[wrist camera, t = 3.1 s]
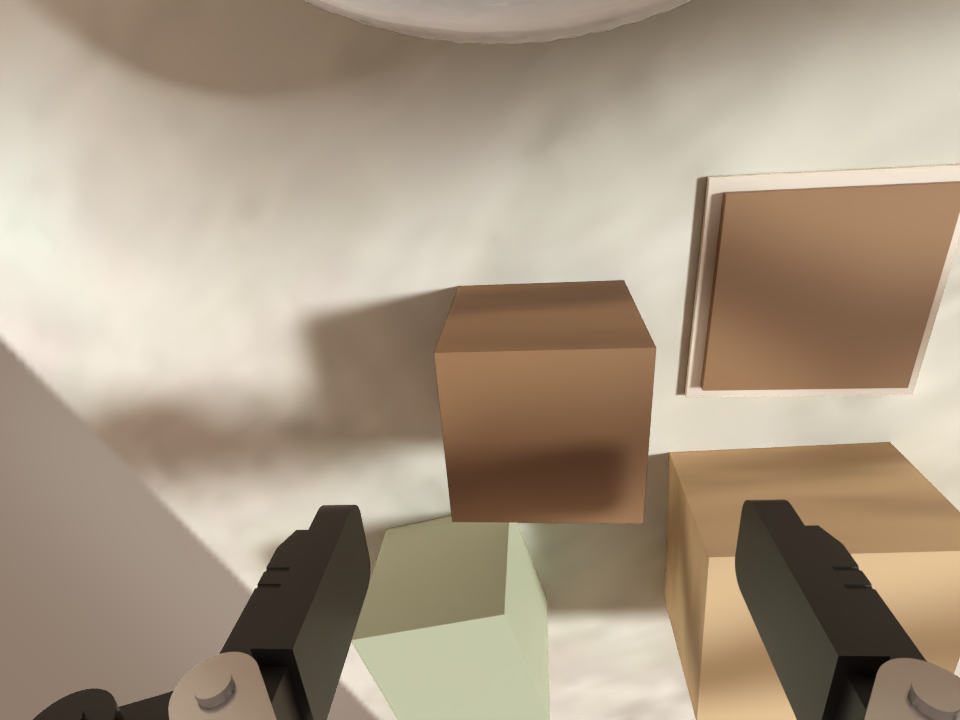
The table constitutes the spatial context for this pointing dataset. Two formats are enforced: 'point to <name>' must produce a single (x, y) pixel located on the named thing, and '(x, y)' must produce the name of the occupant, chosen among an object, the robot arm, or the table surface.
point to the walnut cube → (546, 403)
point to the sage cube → (456, 623)
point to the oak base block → (818, 501)
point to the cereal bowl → (497, 17)
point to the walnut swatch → (821, 280)
